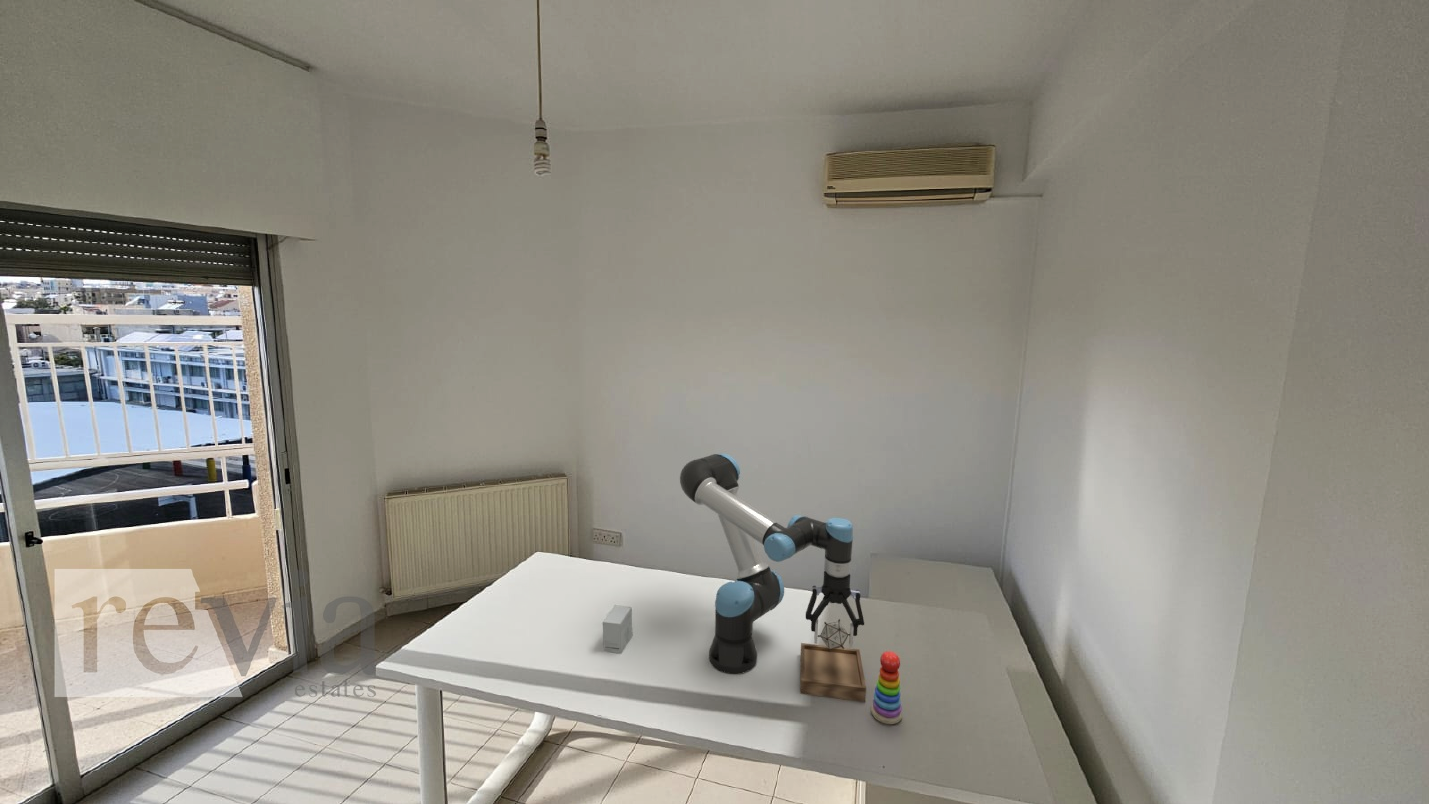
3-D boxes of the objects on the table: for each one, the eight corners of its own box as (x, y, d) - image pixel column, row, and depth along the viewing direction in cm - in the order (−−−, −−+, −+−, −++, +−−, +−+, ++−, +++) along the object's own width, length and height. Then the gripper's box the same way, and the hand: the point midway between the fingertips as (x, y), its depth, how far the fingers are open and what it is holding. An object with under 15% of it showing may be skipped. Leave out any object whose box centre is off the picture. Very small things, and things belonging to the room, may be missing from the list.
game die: (838, 662, 159) (851, 649, 152) (811, 649, 160) (823, 636, 153) (844, 634, 166) (856, 621, 159) (818, 622, 167) (829, 608, 160)
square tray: (800, 693, 154) (801, 680, 154) (800, 655, 172) (801, 643, 171) (865, 701, 152) (866, 688, 151) (858, 661, 169) (859, 649, 169)
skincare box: (614, 632, 182) (614, 604, 180) (632, 635, 181) (632, 606, 179) (602, 651, 172) (601, 621, 170) (621, 654, 171) (621, 623, 169)
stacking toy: (866, 705, 150) (871, 643, 147) (894, 704, 151) (899, 642, 148) (877, 726, 142) (882, 662, 140) (906, 725, 143) (912, 661, 140)
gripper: (798, 574, 155) (795, 646, 158) (878, 581, 151) (873, 654, 155) (798, 562, 162) (795, 631, 165) (874, 569, 158) (870, 639, 162)
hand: (833, 642), depth 160 cm, fingers closed on game die, 9 cm apart
